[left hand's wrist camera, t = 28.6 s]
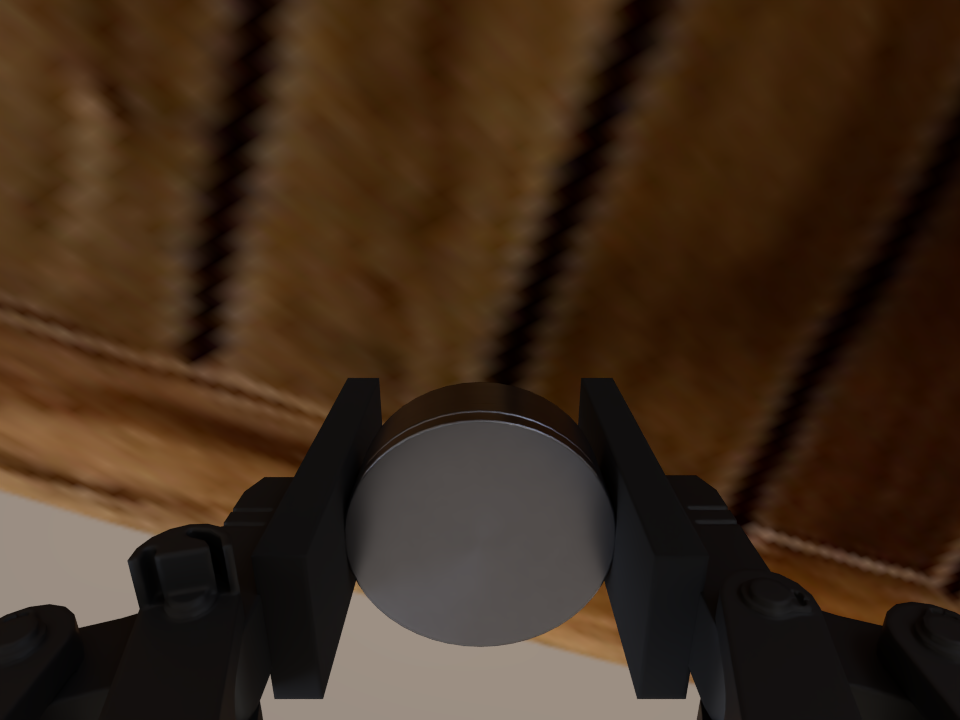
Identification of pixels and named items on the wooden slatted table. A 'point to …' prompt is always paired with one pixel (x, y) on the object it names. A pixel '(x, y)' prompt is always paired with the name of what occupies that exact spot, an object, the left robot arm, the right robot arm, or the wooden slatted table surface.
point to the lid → (480, 516)
